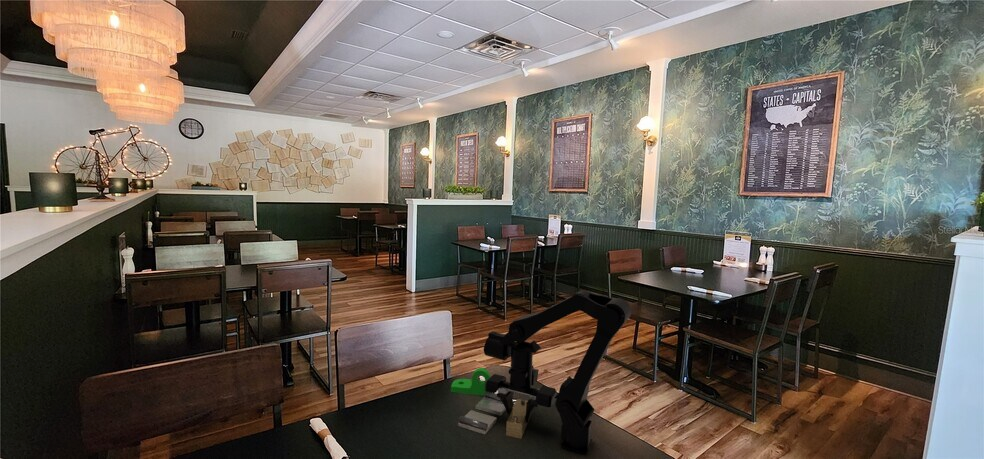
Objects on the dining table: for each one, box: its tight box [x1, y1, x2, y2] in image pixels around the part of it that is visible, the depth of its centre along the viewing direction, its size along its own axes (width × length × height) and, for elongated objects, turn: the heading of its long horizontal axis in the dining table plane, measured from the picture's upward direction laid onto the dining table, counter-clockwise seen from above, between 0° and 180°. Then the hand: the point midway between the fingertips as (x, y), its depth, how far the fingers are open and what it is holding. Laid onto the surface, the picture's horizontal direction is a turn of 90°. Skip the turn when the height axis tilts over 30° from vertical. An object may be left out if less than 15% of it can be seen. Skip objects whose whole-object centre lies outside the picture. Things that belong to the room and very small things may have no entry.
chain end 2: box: [457, 409, 498, 435], centre depth 111 cm, size 8×7×2 cm
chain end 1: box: [475, 391, 507, 416], centre depth 120 cm, size 8×7×2 cm
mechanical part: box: [450, 367, 491, 396], centre depth 129 cm, size 12×6×8 cm, turn 82°
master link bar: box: [505, 398, 528, 439], centre depth 111 cm, size 4×12×5 cm, turn 164°
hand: (519, 420), depth 111 cm, fingers closed on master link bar, 4 cm apart
